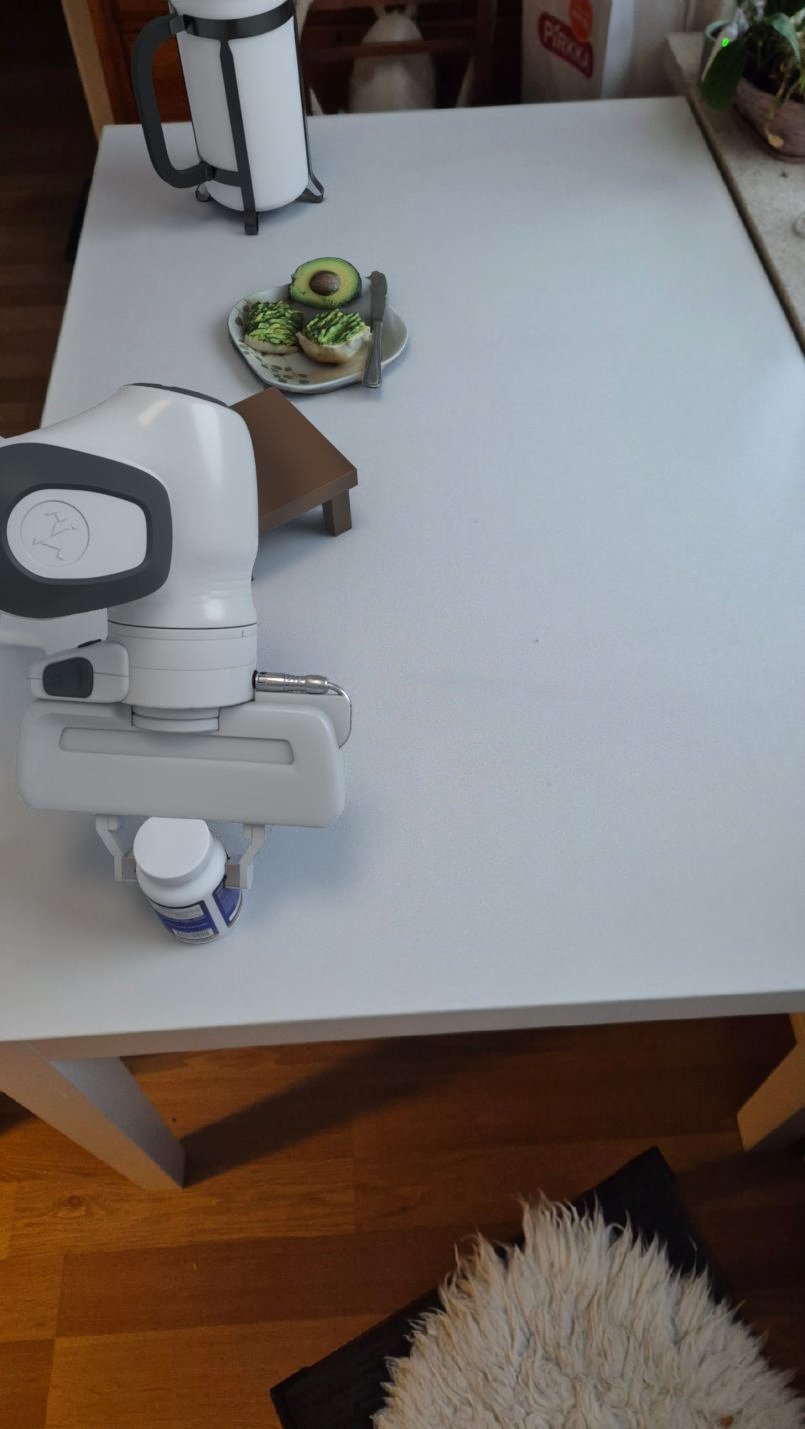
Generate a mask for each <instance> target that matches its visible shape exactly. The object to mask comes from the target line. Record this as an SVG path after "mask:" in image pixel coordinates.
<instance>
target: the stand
mask: <svg viewBox="0 0 805 1429" xmlns="http://www.w3.org/2000/svg"><path fill="white" fill-rule="evenodd" d="M228 406H229V407H231V408H233V409H234V410H235V411H236V412H237V413H238V414H239V415H240V416H241V417H242V418H243V420H244V421H245V423H246V425H247V428H248V430H249V433H250V437H251V441H252V446H253V451H254V458H255V466H256V476H257V493H258V537H259V536H262V535H264V534H265V533H268V532H269V531H272V530H274V529H276V528H277V527H279V526H281V525H284V524H285V523H287V522H289V521H291V520H293V519H295V518H297V517H299V516H300V515H303V514H304V513H307V512H308V511H310V510H312V509H314V508H316V507H318V506H320V505H321V507H322V516H323V523H324V526H325V527H326V528H327V530H328V531H329V532H330V533H331V534H332V535H333V536H334V537H337V536H340V535H341V534H343V533H346V532H347V531H350V530H351V529H352V528H353V521H352V520H353V519H352V512H351V511H352V510H351V498H350V490H351V489H354V488H355V487H357V486H358V485H359V477H358V469H357V467H355V465H353V463H352V462H351V461H350V460H349V459H348V458H347V457H346V456H345V455H344V454H342V452H341V451H340V450H339V449H338V448H337V447H336V446H335V445H334V444H333V443H332V442H331V441H330V440H329V439H328V438H327V437H326V436H325V435H324V434H323V433H322V432H321V431H320V430H319V429H318V428H317V427H316V426H315V425H314V424H313V423H312V422H311V420H309V419H308V418H307V417H306V416H305V415H304V414H303V413H302V412H301V411H300V410H299V409H298V407H296V406H295V405H294V404H293V403H292V402H291V401H290V399H288V398H287V396H285V395H284V394H283V393H282V392H281V391H280V389H279V388H276V387H275V386H272V385H271V386H269V387H268V388H266V389H263V390H261V391H259V392H257V393H255V394H253V395H251V396H248V397H246V398H244V399H242V400H240V401H238V402H235V403H233V404H230V405H228ZM254 580H255V579H254V575H253V573H252V577H251V582H252V581H254Z"/></svg>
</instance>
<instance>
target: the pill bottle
mask: <svg viewBox="0 0 805 1429" xmlns="http://www.w3.org/2000/svg"><path fill="white" fill-rule="evenodd" d="M132 845H133V853H134V858H135V861H136V875H137V880H138V882H137V883H138V885H139V888H140V889H141V891H142V893H143V894H144V895H145V897H146V898H147V900H148V902H149V904H150V906H151V907H152V909H153V910H154V912H155V913H156V915H157V917H158V919H159V921H160V922H161V924H162V925H163V926H164V928H165V930H166V931H167V932H168V933H169V934H170V935H172V936H173V938H176V939H177V940H180V941H181V942H185V943H188V944H205V943H209V942H213V941H215V940H218V939H220V938H221V937H223V936H224V935H226V934H227V933H228V932H229V931H230V930H231V929H232V928H233V927H234V926H235V924H236V923H237V921H238V920H239V918H240V916H241V913H242V910H243V906H244V894H243V889H230V888H225V879H226V878H227V876H226V875H225V863H226V861H227V860H229V857H230V856H229V854H228V851H227V849H226V846H225V844H224V842H223V841H222V839H221V837H220V836H219V835H218V834H217V833H216V832H215V831H214V830H213V829H212V828H210V827H208V825H207V823H206V821H204V820H199V819H179V818H162V817H148V819H146V820H145V821H144V822H143V824H142V825H141V826H140V827H139V829H138V830H137V832H136V834H135V836H134V840H133V843H132Z"/></svg>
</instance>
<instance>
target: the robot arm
mask: <svg viewBox="0 0 805 1429" xmlns="http://www.w3.org/2000/svg"><path fill="white" fill-rule="evenodd" d="M229 406H230V405H227V403H226V402H223V401H222V400H220V399H218V398H215V397H213V396H210V395H208V394H205V393H201V392H199V391H196V390H191V389H187V388H184V387H178V386H171V385H170V386H168V385H164V384H161V383H153V382H134V383H129V384H124V385H122V386H120V387H119V388H118V389H117V390H116V392H115V393H113V394H112V395H111V396H109V397H108V398H106V399H105V400H103V401H101V402H100V403H98V404H96V405H94V406H92V407H90V408H88V409H86V410H84V411H82V412H80V413H77V414H76V415H73V416H71V417H69V418H68V417H67V418H66V419H64V420H60V421H58V422H55V423H53V424H51V425H48V426H44V427H41V428H37V429H35V430H31V431H28V432H25V433H22V434H19V435H14V436H11V437H7V438H5V437H3V436H2V435H0V614H3V615H5V616H8V617H11V618H14V619H15V618H16V619H20V620H25V621H40V622H42V621H51V620H52V621H53V620H59V619H63V618H67V617H70V616H74V615H78V614H84V613H89V612H94V611H99V610H103V609H106V618H107V620H106V621H107V622H106V624H107V625H106V626H107V636H106V637H105V639H102V638H97V639H92V640H89V641H85V642H83V643H80V644H78V645H77V646H76V647H71V648H68V649H64V650H61V651H58V652H54V653H52V654H50V655H47V656H44V657H42V658H40V659H38V660H36V661H34V662H32V663H31V664H30V665H29V666H27V668H26V671H25V677H26V678H25V683H26V688H27V691H28V693H29V694H30V696H32V697H34V698H36V699H34V700H33V701H31V702H30V703H29V704H28V705H27V706H26V707H25V708H24V709H23V712H22V714H21V716H20V719H19V723H18V728H17V736H16V745H15V746H16V747H15V789H16V793H17V796H18V797H19V798H20V799H21V801H22V802H23V803H24V804H25V805H26V806H27V807H28V809H30V810H33V811H44V812H45V811H47V812H60V813H61V812H62V813H76V814H77V813H79V814H89V815H90V814H91V815H92V814H93V815H95V818H94V819H95V820H94V821H95V832H96V833H97V834H98V836H99V837H100V839H101V840H102V842H103V844H104V846H105V847H106V848H107V850H108V852H109V854H110V855H111V856H112V857H113V864H114V868H113V869H114V879H115V882H130V883H131V882H132V883H133V882H134V883H138V880H137V875H136V861H135V858H134V853H133V843H132V841H131V839H130V838H129V836H128V834H127V832H126V831H125V828H124V826H123V825H124V824H125V823H126V822H127V821H128V820H129V819H130V818H129V817H138V818H150V817H162V818H179V819H199V820H204V822H215V823H216V822H217V823H231V824H242V838H243V839H244V840H247V841H249V840H251V842H250V843H249V845H248V846H247V848H246V849H245V851H244V852H243V854H238V853H237V854H236V853H234V854H233V853H231V854H230V856H229V860H227V861H226V863H225V875H226V876H227V878H226V879H225V888H230V889H242V890H245V891H246V890H247V891H249V890H250V888H251V887H252V885H253V883H254V882H253V881H254V868H255V866H254V864H255V863H254V862H255V858H256V856H257V854H258V853H259V851H260V849H261V848H262V847H263V845H264V843H265V841H266V840H267V838H269V835H270V834H271V832H272V830H273V829H272V826H277V827H278V826H279V827H295V828H309V829H328V828H329V827H331V826H332V825H333V824H334V823H336V821H337V820H338V819H339V818H340V817H341V816H342V814H343V812H344V810H345V806H346V804H347V803H346V801H347V776H346V775H347V774H346V773H347V772H346V762H345V761H346V760H345V752H344V746H345V745H346V743H347V742H348V741H349V739H350V737H351V735H352V729H353V704H352V703H353V702H352V700H351V698H350V695H349V694H348V692H346V691H345V689H343V687H341V686H340V685H338V684H336V683H333V682H330V678H329V677H327V676H324V675H319V674H307V675H294V674H290V673H289V674H288V673H283V672H269V671H258V670H257V668H258V667H257V666H258V665H257V663H258V660H257V659H258V656H257V655H258V653H257V652H258V612H257V608H256V604H255V600H254V597H253V591H252V590H253V589H252V581H251V577H252V574H253V569H254V566H255V562H256V558H257V556H258V552H259V536H258V493H257V476H256V466H255V458H254V451H253V446H252V441H251V437H250V433H249V430H248V428H247V425H246V423H245V421H244V420H243V418H242V417H241V416H240V415H239V414H238V413H237V412H236V411H235V410H234V409H233V408H231V407H229ZM329 690H331V691H333V692H335V693H328V692H329Z"/></svg>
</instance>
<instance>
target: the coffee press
mask: <svg viewBox="0 0 805 1429" xmlns="http://www.w3.org/2000/svg"><path fill="white" fill-rule="evenodd" d="M167 4H168V9H169V14H166V15H165V16H163V15H158V16H157V17H155V18H153V19H152V20H150V21H149V22H148V23H146V25H145V26H144V27H143V28H142V29H141V30H140V31H139V33H138V34H137V37H136V39H135V41H134V45H133V48H132V53H131V61H130V72H131V80H132V87H133V92H134V97H135V101H136V107H137V111H138V112H137V113H138V116H139V119H140V124H141V128H142V134H143V138H144V142H145V145H146V149H147V150H146V151H147V154H148V156H149V160H150V163H151V165H152V168H153V169H154V171H155V173H156V175H157V176H158V177H159V178H160V179H161V180H162V181H163V182H165V183H166V184H168V185H169V186H171V187H173V188H175V189H179V190H181V189H182V190H184V189H190V188H194V187H196V188H195V191H194V196H195V198H196V199H197V200H198V201H199V202H201V203H202V202H207V201H208V200H209V199H210V197H212V198H213V199H214V200H215V201H216V202H218V203H220V204H221V205H222V206H224V207H227V208H229V209H232V210H236V211H241V212H243V224H244V225H243V226H244V233H245V234H259V230H260V212H266V211H272V210H275V209H279V208H281V207H284V206H287V205H288V204H290V203H292V202H293V201H295V200H296V199H298V198H299V197H300V196H301V195H305V196H306V197H307V198H308V199H309V200H310V201H312V203H315V204H319V203H322V201H323V200H324V196H325V187H324V185H322V183H321V182H320V181H319V180H318V179H317V176H316V175H315V173H314V172H313V166H312V159H311V158H312V154H311V147H310V146H311V145H310V136H309V135H310V134H309V126H308V116H307V115H308V114H307V106H306V95H305V94H306V93H305V84H304V75H303V65H302V63H303V62H302V54H301V44H300V35H299V24H298V16H297V6H296V5H297V4H296V0H167ZM172 36H174V37H175V42H176V48H177V53H178V58H179V63H180V68H181V69H180V70H181V73H182V79H183V84H184V89H185V90H184V91H185V95H186V101H187V106H188V110H189V116H190V122H191V126H192V132H193V138H194V143H195V148H196V154H197V159H198V163H197V164H194V165H192V166H189V167H187V168H183V169H177V168H175V167H174V165H173V164H172V162H171V160H170V158H169V157H170V156H169V153H168V149H167V143H166V140H165V136H164V135H165V134H164V130H163V125H162V121H161V116H160V111H159V107H158V102H157V98H156V92H155V86H154V82H153V76H152V75H153V74H152V68H153V61H154V56H155V54H156V51H157V50H158V48H160V46H161V45H162V44H163V43H164V42H166V41H167V40H169V39H171V37H172ZM309 181H311V183H312V184H313V186H314V187H315V188H316V189H317V191H318V192H319V193H320V194H319V195H317V194H315V193H314V192H313V191H312V190H310V189H309V188H308V187H307V186H308V184H309ZM202 184H204V185H205V187H206V190H207V193H205V194H204V193H202V192H200V190H199V189H200V187H201V185H202Z"/></svg>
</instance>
